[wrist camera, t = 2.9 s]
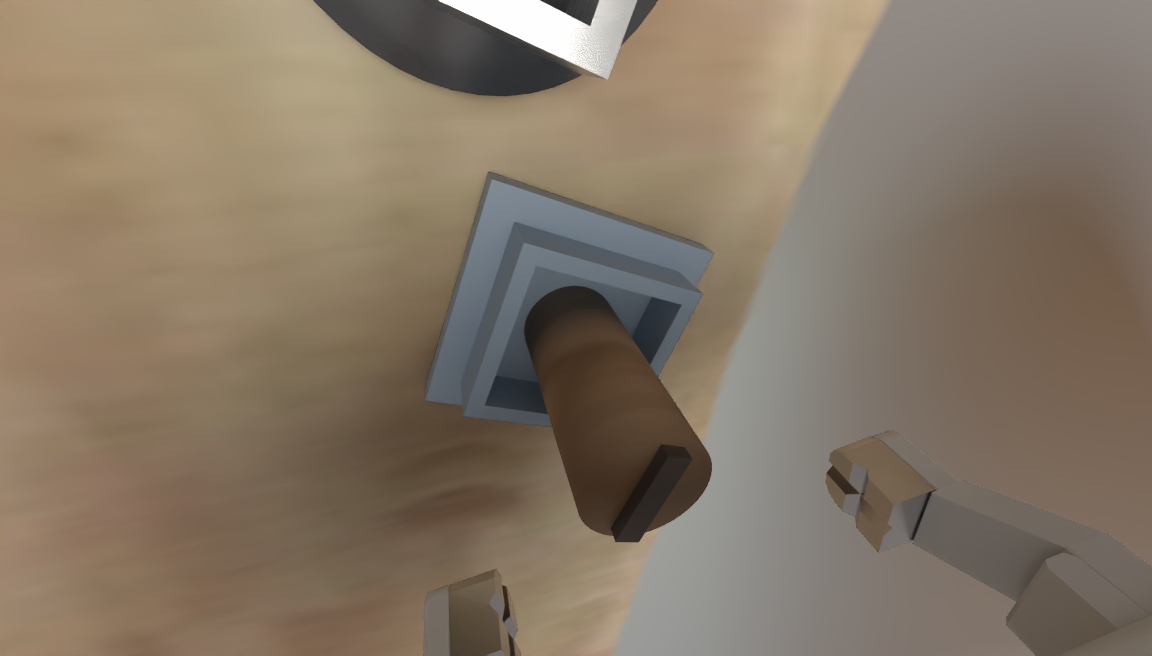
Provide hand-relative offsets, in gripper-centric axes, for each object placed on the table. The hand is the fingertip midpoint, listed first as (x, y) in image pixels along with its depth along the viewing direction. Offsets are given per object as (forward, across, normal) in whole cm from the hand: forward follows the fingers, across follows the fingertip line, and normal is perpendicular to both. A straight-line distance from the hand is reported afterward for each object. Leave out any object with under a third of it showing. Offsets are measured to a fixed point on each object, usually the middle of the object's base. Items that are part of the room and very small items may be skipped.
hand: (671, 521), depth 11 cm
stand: (+10, 0, 0) cm, 10 cm away
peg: (+9, 0, 0) cm, 9 cm away
